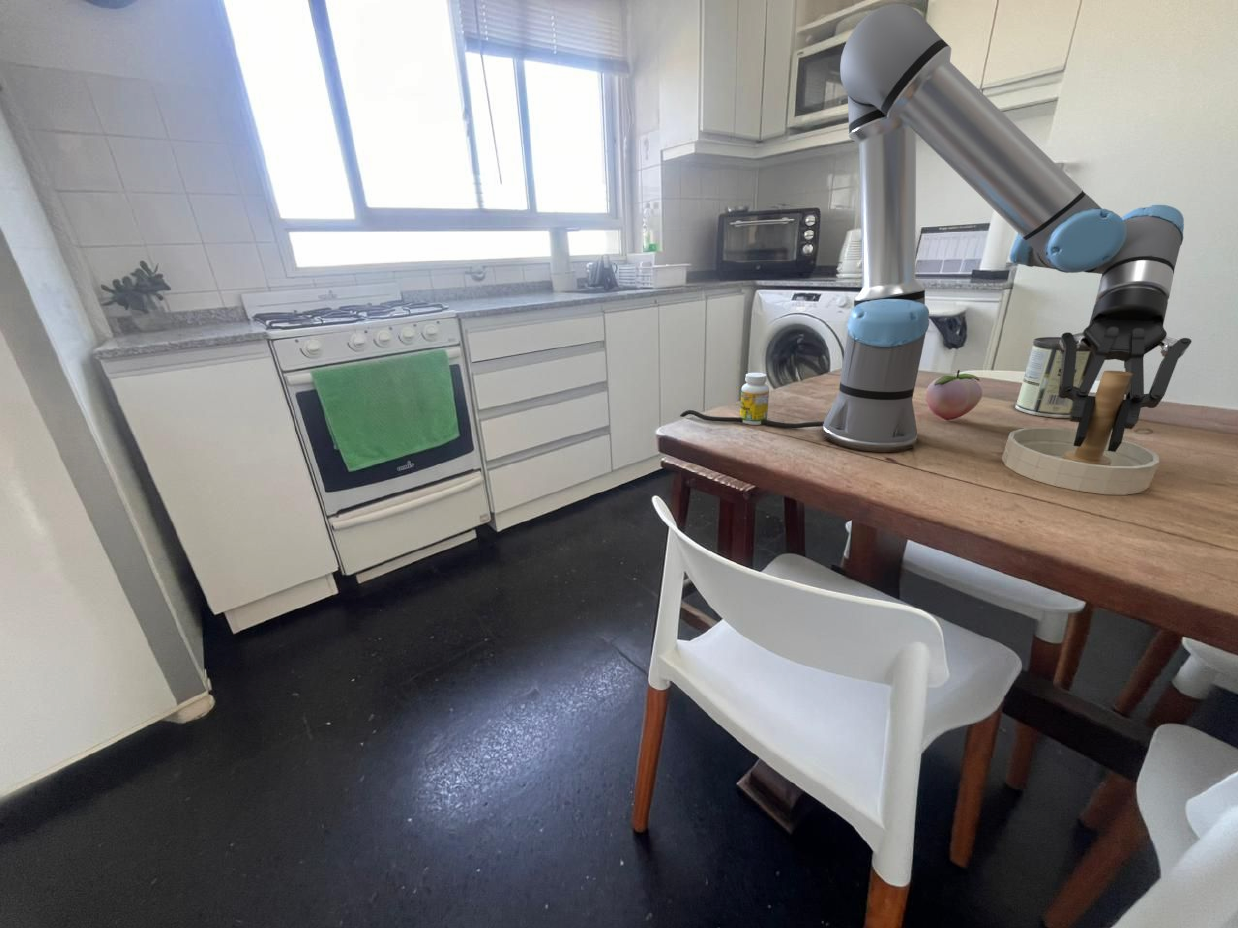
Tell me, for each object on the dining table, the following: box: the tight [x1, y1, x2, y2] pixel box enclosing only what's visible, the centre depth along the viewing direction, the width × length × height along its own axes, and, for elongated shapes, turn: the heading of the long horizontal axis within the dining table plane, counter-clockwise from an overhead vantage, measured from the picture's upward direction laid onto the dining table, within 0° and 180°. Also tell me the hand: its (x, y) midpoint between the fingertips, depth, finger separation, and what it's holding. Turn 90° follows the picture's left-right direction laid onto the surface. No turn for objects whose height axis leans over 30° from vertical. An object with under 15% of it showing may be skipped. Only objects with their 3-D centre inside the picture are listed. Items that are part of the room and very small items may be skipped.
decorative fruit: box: [925, 369, 983, 421], centre depth 95 cm, size 9×8×10 cm
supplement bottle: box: [739, 372, 770, 426], centre depth 98 cm, size 5×5×10 cm
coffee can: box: [1014, 336, 1095, 419], centre depth 98 cm, size 10×10×14 cm
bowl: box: [1001, 427, 1160, 496], centre depth 72 cm, size 16×16×4 cm
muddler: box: [1063, 370, 1132, 466], centre depth 68 cm, size 5×5×13 cm
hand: (1096, 443), depth 66 cm, fingers closed on muddler, 3 cm apart
